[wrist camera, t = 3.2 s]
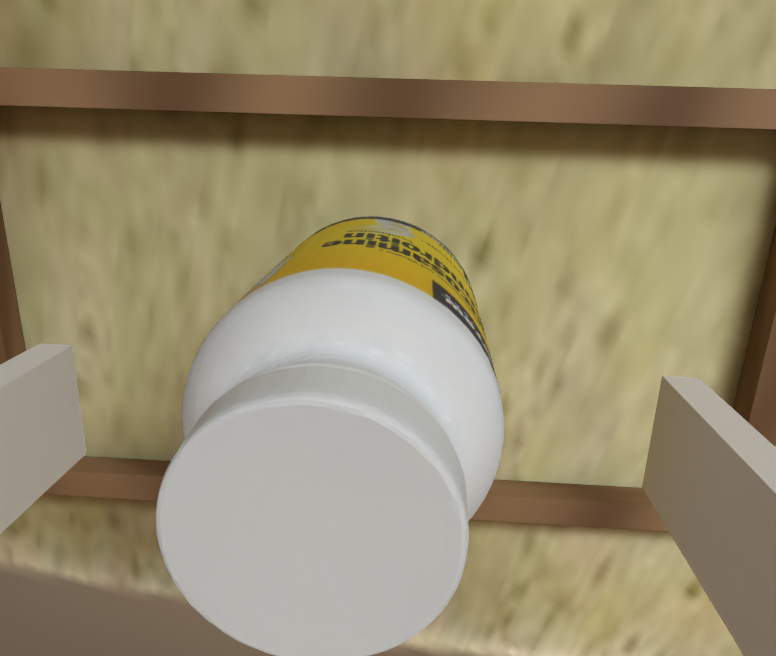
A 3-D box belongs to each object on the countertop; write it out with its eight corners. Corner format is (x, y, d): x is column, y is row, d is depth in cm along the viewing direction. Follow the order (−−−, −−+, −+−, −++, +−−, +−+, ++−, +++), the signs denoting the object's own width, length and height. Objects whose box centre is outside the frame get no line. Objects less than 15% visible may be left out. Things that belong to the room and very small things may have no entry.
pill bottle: (512, 338, 20) (620, 602, 9) (352, 434, 21) (276, 764, 10) (399, 168, 18) (362, 237, 7) (236, 285, 20) (3, 486, 9)
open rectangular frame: (20, 476, 23) (3, 491, 22) (-56, 68, 18) (-82, 65, 17) (737, 518, 22) (751, 536, 21) (843, 93, 17) (868, 92, 16)
